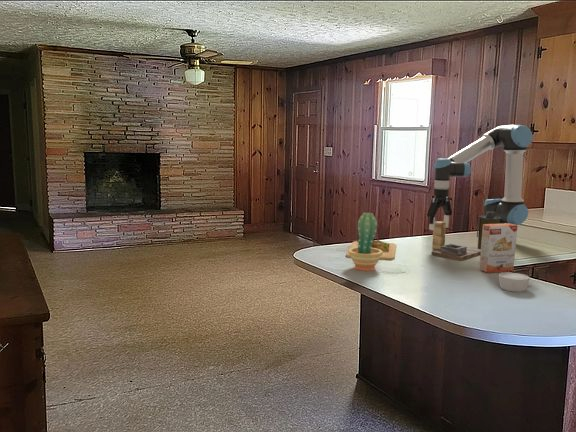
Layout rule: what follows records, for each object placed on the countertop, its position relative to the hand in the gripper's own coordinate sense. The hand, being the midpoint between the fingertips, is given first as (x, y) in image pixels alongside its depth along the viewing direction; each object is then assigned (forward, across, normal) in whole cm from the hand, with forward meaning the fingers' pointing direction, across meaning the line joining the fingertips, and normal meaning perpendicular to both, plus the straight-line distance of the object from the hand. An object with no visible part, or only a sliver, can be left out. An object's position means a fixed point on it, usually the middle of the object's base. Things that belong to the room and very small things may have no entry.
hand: (438, 228), depth 281 cm
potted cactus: (+12, +62, +1) cm, 63 cm away
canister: (+10, -16, +19) cm, 27 cm away
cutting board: (+12, +32, -18) cm, 38 cm away
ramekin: (+11, +42, +60) cm, 75 cm away
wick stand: (+10, +4, +14) cm, 18 cm away
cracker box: (+11, +21, +43) cm, 49 cm away
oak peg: (+10, 0, 0) cm, 11 cm away
